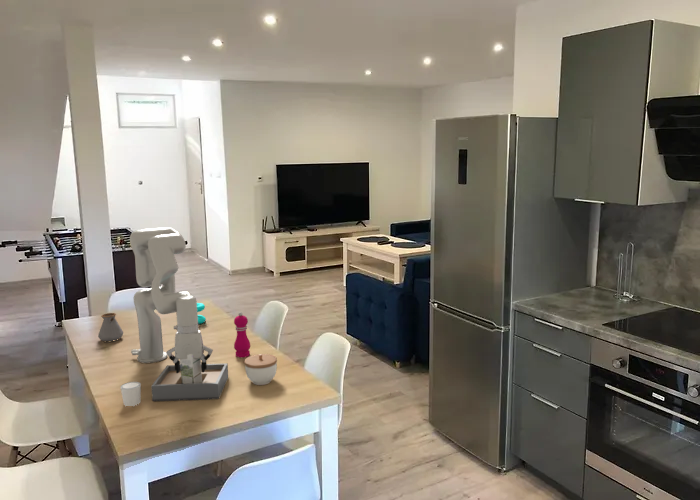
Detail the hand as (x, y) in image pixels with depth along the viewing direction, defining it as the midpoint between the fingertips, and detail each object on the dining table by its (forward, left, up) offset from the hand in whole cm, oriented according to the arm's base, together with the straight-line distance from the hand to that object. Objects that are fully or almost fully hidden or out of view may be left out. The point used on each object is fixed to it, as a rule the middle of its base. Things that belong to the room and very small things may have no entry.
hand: (191, 371), depth 209 cm
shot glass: (-19, -11, -7) cm, 23 cm away
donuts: (-19, +88, -7) cm, 90 cm away
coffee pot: (-52, +59, -7) cm, 79 cm away
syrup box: (0, 0, -6) cm, 6 cm away
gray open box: (0, 0, -7) cm, 7 cm away
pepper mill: (+14, +35, -7) cm, 38 cm away
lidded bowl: (+26, +5, -7) cm, 27 cm away
